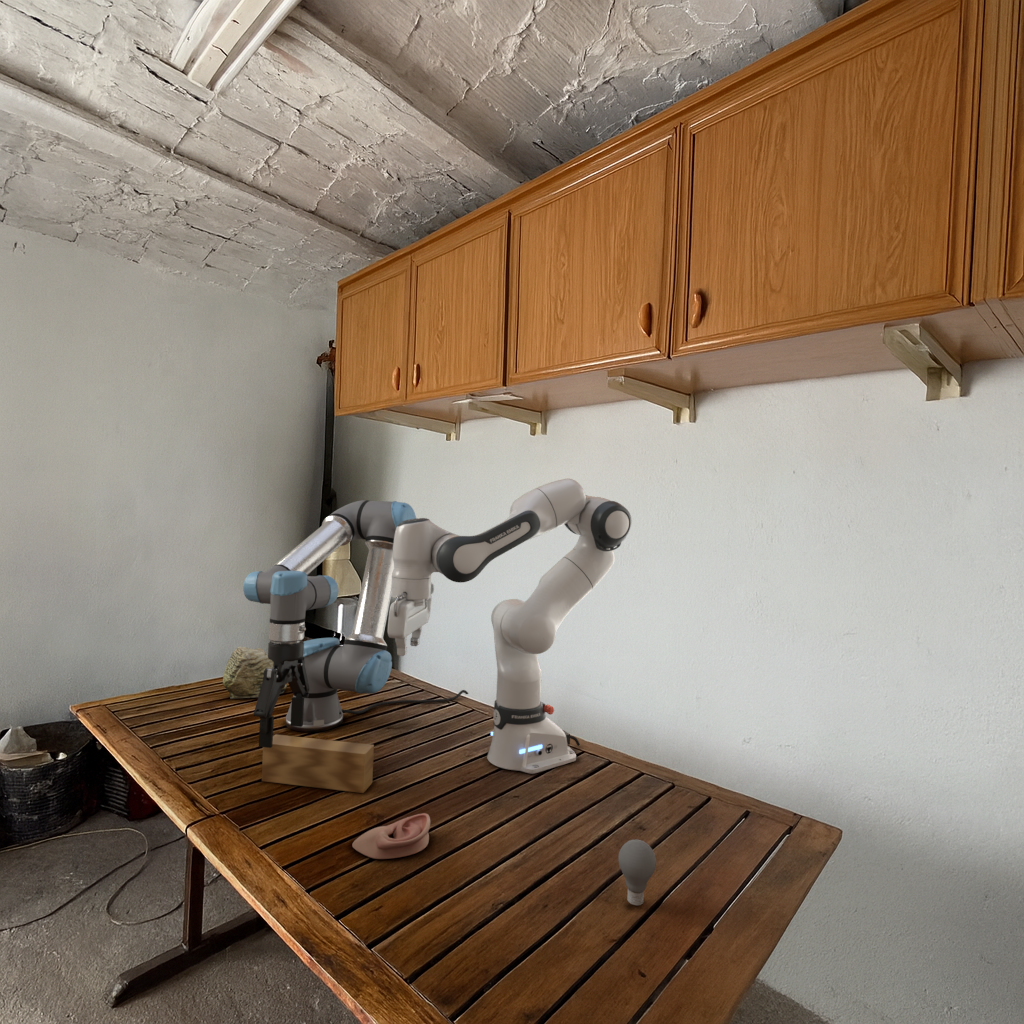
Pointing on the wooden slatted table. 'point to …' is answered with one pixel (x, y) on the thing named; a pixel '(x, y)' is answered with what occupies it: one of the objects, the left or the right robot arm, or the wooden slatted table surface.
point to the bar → (318, 763)
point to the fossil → (246, 672)
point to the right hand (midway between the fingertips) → (408, 650)
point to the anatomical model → (395, 838)
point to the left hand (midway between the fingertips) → (281, 735)
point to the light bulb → (636, 868)
